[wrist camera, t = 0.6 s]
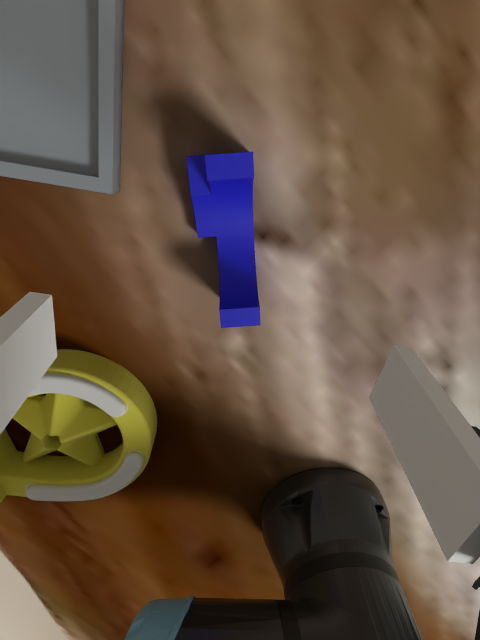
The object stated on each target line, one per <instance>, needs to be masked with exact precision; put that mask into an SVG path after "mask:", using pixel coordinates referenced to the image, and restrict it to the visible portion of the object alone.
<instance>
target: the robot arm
mask: <svg viewBox="0 0 480 640" xmlns="http://www.w3.org/2000/svg"><path fill="white" fill-rule="evenodd" d="M56 358H57V348H56V336H55V325H54V314H53V302H52V295H48V294H41V293H35V292H29V293H28V294H27V295H26V296H24V297H23V298H22V299H21V300H20V301H19V302H17V303H16V304H15V305H14V306H13V307H12V308H11V309H9V310H8V311H7V312H6V313H5V314H4V315H3V316H1V317H0V434H1V433H2V431H3V430H4V429H5V427H6V426H7V425H8V423H9V422H10V420H11V419H12V418H13V416H14V415H15V414H16V412H17V411H18V410H19V408H20V407H21V405H22V404H23V403H24V401H25V400H26V399H27V397H28V396H29V394H30V393H31V392H32V390H33V389H34V388H35V386H36V385H37V384H38V382H39V381H40V379H41V378H42V377H43V375H44V374H45V373H46V371H47V370H48V368H49V367H50V366H51V364H52V363H53V362H54V360H55V359H56ZM369 398H370V400H371V402H372V404H373V406H374V408H375V410H376V413H377V415H378V417H379V419H380V421H381V423H382V425H383V427H384V429H385V431H386V434H387V436H388V438H389V440H390V442H391V444H392V446H393V448H394V450H395V452H396V454H397V457H398V459H399V461H400V463H401V465H402V467H403V469H404V471H405V473H406V475H407V478H408V480H409V482H410V484H411V486H412V488H413V490H414V492H415V494H416V496H417V498H418V501H419V503H420V505H421V507H422V509H423V511H424V513H425V515H426V517H427V519H428V522H429V524H430V526H431V528H432V530H433V532H434V534H435V536H436V538H437V540H438V542H439V545H440V547H441V549H442V551H443V553H444V555H445V557H446V559H447V561H448V562H459V563H471V564H473V563H474V562H475V561H476V560H477V559H478V558H479V557H480V430H479V429H478V428H477V427H473V426H470V424H469V423H468V422H467V420H466V419H465V418H464V416H463V415H462V414H461V412H460V411H459V410H458V409H457V407H456V406H455V405H454V403H453V402H452V401H451V399H450V398H449V397H448V395H447V394H446V393H445V391H444V390H443V389H442V387H441V386H440V385H439V384H438V382H437V381H436V380H435V378H434V377H433V376H432V374H431V373H430V372H429V370H428V369H427V368H426V366H425V365H424V364H423V362H422V361H421V360H420V358H419V357H418V356H417V355H416V353H415V352H414V351H413V349H412V348H409V347H403V346H396V345H393V347H392V349H391V351H390V353H389V356H388V358H387V360H386V362H385V364H384V366H383V369H382V371H381V373H380V375H379V377H378V379H377V381H376V384H375V386H374V388H373V390H372V392H371V394H370V397H369ZM261 523H262V533H263V538H264V541H265V544H266V546H267V549H268V551H269V553H270V556H271V558H272V560H273V563H274V565H275V567H276V570H277V572H278V574H279V577H280V579H281V581H282V584H283V587H284V595H285V600H272V599H225V598H195V596H189V597H188V598H180V599H157V600H153V601H151V602H149V603H147V604H146V605H145V606H144V607H143V608H142V609H141V610H140V611H139V612H138V614H137V615H136V617H135V619H134V620H133V622H132V624H131V626H130V628H129V631H128V633H127V636H126V638H125V640H423V639H422V637H421V634H420V632H419V629H418V627H417V624H416V622H415V619H414V617H413V614H412V612H411V609H410V607H409V604H408V602H407V599H406V597H405V594H404V592H403V589H402V587H401V584H400V582H399V579H398V577H397V574H396V571H395V569H394V565H393V554H392V542H391V529H390V517H389V513H388V509H387V507H386V504H385V502H384V500H383V497H382V495H381V493H380V491H379V489H378V488H377V487H376V485H375V484H374V483H373V482H372V481H370V480H369V479H368V478H366V477H364V476H363V475H361V474H358V473H356V472H353V471H349V470H345V469H337V468H322V469H314V470H309V471H305V472H302V473H299V474H296V475H294V476H292V477H290V478H288V479H286V480H284V481H283V482H281V483H280V484H279V485H277V486H276V487H275V488H274V489H273V490H272V491H271V492H270V493H269V494H268V496H267V497H266V499H265V501H264V503H263V506H262V510H261ZM472 587H473V588H474V589H476V590H477V589H478V588H479V587H480V577H479V578H478V579H477V580H476V581H475V582H474V584H473V586H472ZM475 640H480V611H479V617H478V623H477V629H476V635H475Z"/></svg>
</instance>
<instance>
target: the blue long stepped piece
mask: <svg viewBox="0 0 480 640" xmlns="http://www.w3.org/2000/svg"><path fill="white" fill-rule="evenodd" d="M186 157H187V166H188V175H189V184H190V192H191V198H192V203H193V208H194V213H195V220H196V227H197V234H198V238H201V237H217V249H218V264H219V284H220V308H219V311H220V321H221V328H225V327H241V326H256V325H260V306H259V299H258V290H257V279H256V266H255V251H254V232H253V178H254V166H253V152H241V153H226V154H212V155H198V156H186Z"/></svg>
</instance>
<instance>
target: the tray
mask: <svg viewBox="0 0 480 640" xmlns="http://www.w3.org/2000/svg"><path fill="white" fill-rule="evenodd" d="M123 33H124V0H0V176H5V177H11V178H17V179H23V180H30V181H36V182H42V183H48V184H54V185H60V186H66V187H72V188H78V189H84V190H90V191H96V192H102V193H108V194H114V193H117V192H120V164H121V120H122V77H123Z"/></svg>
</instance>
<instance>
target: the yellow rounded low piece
mask: <svg viewBox="0 0 480 640" xmlns="http://www.w3.org/2000/svg"><path fill="white" fill-rule="evenodd" d="M45 393H47V394H46V396H39V395H40V394H45ZM87 401H88V402H87ZM13 419H14V420H16V421H17V422H18V423H19V424H21V425H22V426H23V427H25V428H26V429H27V430H29V431H30V432H31V436H30V438H29V441H28V443H27V446H26V449H25V451H24V452H20V451H17V450H16V448H15V446H14V444H13V442H12V440H11V438H10V437H9V435H8V433H7V431H6V429H4V430H3V431H2V433H1V434H0V503H1V502H2V500H3V499H4V497H5V496H6V495H15V496H23V497H28V498H29V499H31V500H40V501H86V500H93V499H98V498H102V497H106V496H108V495H111V494H113V493H116V492H117V491H119V490H121V489H123V488H124V487H126V486H127V485H129V484H130V483H132V482H133V481H134V480H135V479H136V478H137V477H138V476H139V475H140V474H141V473H142V471H143V470H144V468H145V467H146V465H147V463H148V460H149V457H150V454H151V450H152V447H153V443H154V439H155V435H156V431H157V413H156V409H155V406H154V403H153V401H152V399H151V397H150V395H149V393H148V391H147V390H146V388H145V387H144V386H143V385H142V383H141V382H140V381H139V380H138V379H137V378H136V377H135V376H134V375H133V374H131V373H130V372H129V371H128V370H126V369H125V368H123V367H122V366H120V365H119V364H117V363H115V362H113V361H111V360H109V359H107V358H105V357H102V356H99V355H96V354H93V353H89V352H85V351H79V350H70V349H57V358H56V359H55V360H54V362H53V363H52V364H51V366H50V367H49V368H48V370H47V371H46V373H45V374H44V375H43V377H42V378H41V379H40V381H39V382H38V384H37V385H36V386H35V388H34V389H33V390H32V392H31V393H30V394H29V396H28V397H27V399H26V400H25V401H24V403H23V404H22V405H21V407H20V408H19V410H18V411H17V412H16V414H15V415H14V416H13ZM115 425H118V427H119V429H120V431H121V434H122V437H123V443H122V444H121V445H120V446H119V447H117V448H116V449H114V450H112V451H111V452H108V453H105V452H104V449H103V446H102V444H101V441H100V439H99V436H98V434H97V433H98V432H101V431H103V430H105V429H108V428H110V427H113V426H115ZM56 450H58V451H60V452H62V453H64V454H66V455H68V456H51V455H46V454H48V453H51V452H53V451H56Z"/></svg>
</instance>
